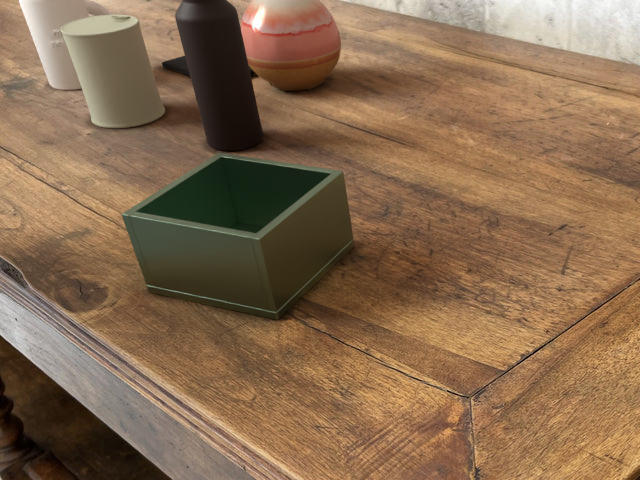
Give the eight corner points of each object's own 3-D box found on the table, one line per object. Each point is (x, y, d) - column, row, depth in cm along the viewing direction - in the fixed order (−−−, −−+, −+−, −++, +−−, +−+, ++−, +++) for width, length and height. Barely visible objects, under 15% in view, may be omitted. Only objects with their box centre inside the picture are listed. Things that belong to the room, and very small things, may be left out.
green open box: (148, 292, 72) (120, 214, 67) (237, 225, 82) (219, 152, 77) (278, 320, 68) (259, 239, 63) (355, 245, 78) (343, 170, 73)
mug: (144, 73, 120) (118, -14, 112) (65, 94, 113) (32, 3, 105) (117, 62, 124) (91, -22, 117) (40, 81, 117) (7, -7, 110)
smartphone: (159, 67, 122) (220, 86, 114) (157, 61, 121) (219, 80, 114) (200, 55, 126) (261, 73, 119) (199, 49, 126) (260, 67, 118)
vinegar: (226, 157, 95) (180, -28, 83) (197, 142, 99) (149, -37, 86) (275, 140, 99) (238, -38, 86) (245, 126, 103) (206, -47, 90)
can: (180, 111, 107) (153, 16, 100) (121, 133, 101) (89, 34, 94) (135, 99, 111) (107, 6, 104) (77, 120, 105) (42, 23, 98)
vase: (365, 79, 117) (349, -57, 106) (297, 107, 108) (271, -37, 97) (299, 63, 123) (277, -66, 112) (229, 89, 114) (197, -49, 103)
